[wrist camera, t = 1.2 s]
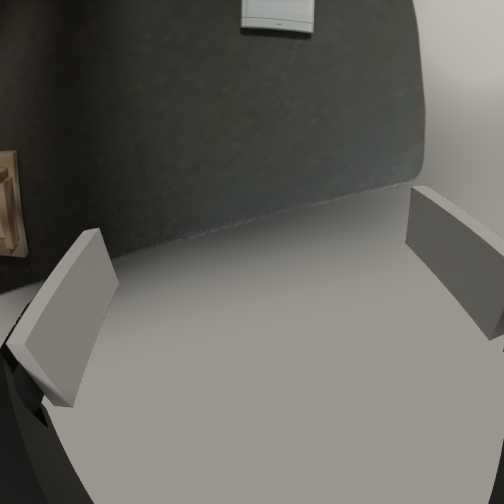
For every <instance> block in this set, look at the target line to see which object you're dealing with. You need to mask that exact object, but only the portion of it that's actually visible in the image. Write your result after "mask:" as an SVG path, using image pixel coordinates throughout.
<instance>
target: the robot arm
mask: <svg viewBox="0 0 504 504" xmlns="http://www.w3.org/2000/svg"><path fill="white" fill-rule="evenodd" d="M405 243H406V244H407V245H408V246H409V247H410V248H411V249H412V250H413V251H414V252H415V253H416V255H417V256H418V257H419V258H420V259H421V260H422V261H423V262H424V263H425V264H426V265H427V266H428V268H430V270H431V271H432V272H433V273H434V274H435V275H436V276H437V278H438V279H439V280H440V281H441V282H442V283H443V284H444V286H445V287H446V288H447V289H448V290H449V291H450V292H451V294H452V295H453V296H454V297H455V298H456V300H457V301H458V302H459V303H460V304H461V306H462V307H463V308H464V309H465V310H466V312H467V313H468V314H469V315H470V317H471V318H472V319H473V320H474V322H475V323H476V324H477V325H478V327H479V328H480V329H481V330H482V332H483V333H484V334H485V336H486V337H487V338H488V340H489V341H490V340H492V339H494V338H496V337H499V336H501V335H503V334H504V241H503V240H502V239H500V238H499V237H498V236H496V235H495V234H494V233H492V232H491V231H490V230H488V229H487V228H486V227H485V226H483V225H482V224H481V223H479V222H478V221H476V220H475V219H474V218H473V217H471V216H470V215H468V214H467V213H466V212H464V211H463V210H461V209H460V208H458V207H457V206H455V205H454V204H453V203H451V202H450V201H448V200H447V199H445V198H444V197H442V196H440V195H439V194H438V193H436V192H435V191H433V190H431V189H430V188H428V187H427V186H412V187H411V198H410V208H409V218H408V226H407V235H406V242H405ZM118 284H119V282H118V279H117V277H116V274H115V272H114V269H113V266H112V264H111V261H110V258H109V255H108V252H107V249H106V247H105V244H104V241H103V238H102V235H101V232H100V229H99V228H96V229H90V230H85V231H83V233H82V234H81V235H80V236H79V237H78V239H77V240H76V241H75V243H74V244H73V245H72V246H71V248H70V249H69V250H68V252H67V253H66V254H65V255H64V257H63V258H62V259H61V261H60V262H59V263H58V265H57V266H56V268H55V269H54V270H53V272H52V273H51V274H50V276H49V277H48V279H47V280H46V281H45V283H44V284H43V286H42V287H41V289H40V290H39V292H38V293H37V295H36V296H35V298H34V299H33V300H32V301H31V302H30V303H28V304H27V306H26V307H25V309H24V310H23V312H22V313H21V317H19V318H18V320H17V321H16V325H14V326H13V328H12V329H11V331H10V333H9V334H8V336H7V338H6V339H5V341H4V343H3V345H2V346H1V348H0V504H94V503H93V501H92V500H91V498H90V497H89V495H88V493H87V491H86V490H85V488H84V486H83V484H82V483H81V481H80V479H79V477H78V476H77V474H76V472H75V470H74V468H73V466H72V464H71V462H70V460H69V458H68V456H67V454H66V452H65V450H64V448H63V446H62V444H61V442H60V440H59V437H58V435H57V433H56V431H55V428H54V426H53V424H52V421H51V419H50V416H49V414H48V411H47V409H46V408H45V407H44V405H43V404H42V403H41V402H42V399H43V396H44V395H45V396H46V397H47V398H48V399H49V400H50V402H51V403H52V404H53V405H54V406H62V407H73V405H74V402H75V398H76V395H77V392H78V389H79V386H80V383H81V379H82V377H83V374H84V371H85V368H86V365H87V362H88V360H89V357H90V354H91V351H92V348H93V346H94V343H95V341H96V338H97V335H98V333H99V330H100V327H101V325H102V322H103V320H104V318H105V315H106V313H107V310H108V308H109V305H110V303H111V300H112V298H113V296H114V293H115V291H116V289H117V286H118ZM503 352H504V350H503ZM488 504H504V441H503V446H502V452H501V457H500V461H499V466H498V470H497V474H496V478H495V482H494V486H493V490H492V493H491V496H490V500H489V503H488Z"/></svg>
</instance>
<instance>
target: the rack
mask: <svg viewBox="0 0 504 504" xmlns="http://www.w3.org/2000/svg"><path fill="white" fill-rule="evenodd" d="M27 254H28V248H27V242H26V236H25V230H24V223H23V216H22V208H21V199H20V188H19V175H18V156H17V151H0V255H4V256H16V257H26V256H27Z"/></svg>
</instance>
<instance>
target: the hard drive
mask: <svg viewBox="0 0 504 504" xmlns="http://www.w3.org/2000/svg"><path fill="white" fill-rule="evenodd" d="M240 28H259V29H274V30H285V31H295V32H303V33H313V30H314V0H241V21H240Z"/></svg>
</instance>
